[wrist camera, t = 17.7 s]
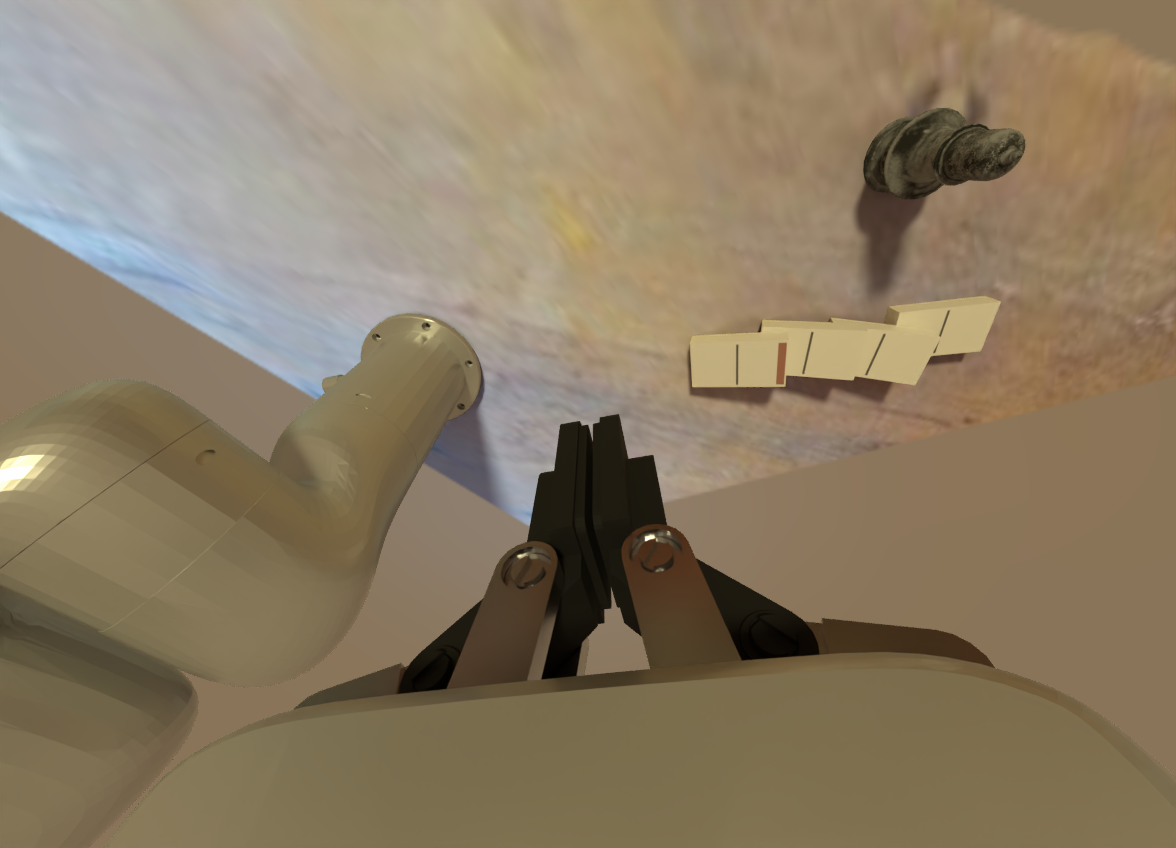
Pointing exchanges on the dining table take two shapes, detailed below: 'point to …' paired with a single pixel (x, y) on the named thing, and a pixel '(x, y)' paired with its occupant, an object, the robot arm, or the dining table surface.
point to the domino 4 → (949, 321)
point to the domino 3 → (894, 351)
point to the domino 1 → (739, 359)
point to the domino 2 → (821, 347)
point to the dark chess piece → (938, 153)
